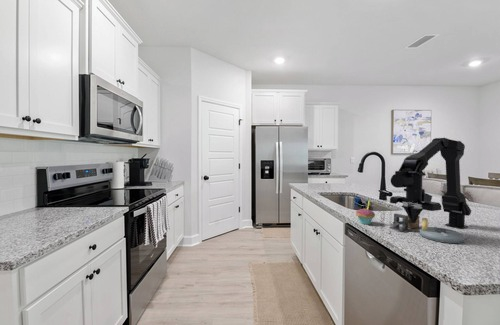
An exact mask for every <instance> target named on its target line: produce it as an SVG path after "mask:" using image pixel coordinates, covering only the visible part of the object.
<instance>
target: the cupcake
mask: <svg viewBox="0 0 500 325" xmlns="http://www.w3.org/2000/svg"><path fill="white" fill-rule="evenodd" d="M370 204H371V199H369V200H368V202H367V208H359V209H357V210H356V211H355V216H356V217H357V218H358V220H359V223H360V224H362V225H366V226H367V225H371V223H372V221H373V219H374V218H375V217H376V213H375V212H374V211H373V210H371V209H369V208H370Z"/></svg>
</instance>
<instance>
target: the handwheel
mask: <svg viewBox="0 0 500 325" xmlns="http://www.w3.org/2000/svg"><path fill="white" fill-rule="evenodd" d="M421 219H422V220H421V221H422V222H421V228H420V227H419V235H420V236H421V237H423V238H426V239H428V240H431V241H436V242H440V243H441V242H442V243H449V244H460V243H464V242H465V241H464V240H465V234H464V233H462V232H460V231H456V230H453V229H450V228H449V229H448V228H445V227H444V228H443V227H438V226H429V225H428V224H429V222H428V219H429V218H427V217H422V218H421Z"/></svg>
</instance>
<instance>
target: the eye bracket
mask: <svg viewBox="0 0 500 325" xmlns="http://www.w3.org/2000/svg"><path fill="white" fill-rule="evenodd" d="M406 215H407V214H401V213H393V222H399V221H400V218H401V219H402V220H401V221H402V224H401V225H402V226H401V225H396V226H394V227H393V226H391V225H390V226H389V229H392V230H395V231H398V232H402V233H409V232H413V228H409V227H408V216H406Z"/></svg>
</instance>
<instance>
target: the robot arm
mask: <svg viewBox="0 0 500 325" xmlns="http://www.w3.org/2000/svg"><path fill="white" fill-rule="evenodd" d="M465 147H466V146H465V144H464V143H463V142H462V141H461V140H454V139H449V138H447V137H435V138H433V139H432V140H431V142H429V143H428V144H427V145H426V146H425V147H423V148H422V149H420V150H419V152H417V153H414V154H409V155H408V156H406V157H405V158H404V159H403V162H402V163H401V165H400V167H399V169H398V170H395V171H394V174H393V175H392V176H391V178H390V183H391V186H393V187H394V188H399V189H400V188H403V191H404V192H405V196H401V195H400V196H399V195H397V196H396V195H395V196H394V195H393V196H391V197H390V198H389V203H390V204H395V205H396V204H398V203H401V204H402V205H401V207H402V208H403V209H404V211H405V213H406V215H408V216H409V218H410V220H411V222H412V223H415V222H416V220H417V218H418V216H419V217H420V214H421V212H422V211H423V210H424V211H430V212H434V211H435V212H436V211H442V209H443V212H444V213H448V223H445V224H444V225H445V226H446V227H447V226H448V227H452V228H456V229H460V230H461V229H467V228H469V226H468V225H466V224H465V223H466V222H465V219H466V217H465V216H471V214H472V209H471V208H470V206H469V205H468V202H467V198H466V197H465V195H464V194H463V192H462V191H461V169H460V168H461V167H460V166H461V165H460V160H461V158H462V157H463V156H464V155H465V149H466V148H465ZM439 152H440V156H441V157H442V158H443V159H444V160H445V178H446V192H445V193H444V195H442V196H441V203H440V202H437V201H436V202H435V201H432V198H433V195H430V194H429V193H426V191H425V189H424V188H423V176H424V177H425V176H426V173H425V172H424V170H425V169H426V168H427V166H428V165H429V161H430V160H431V159H432V158H433V157H435V155H436V154H438V153H439Z"/></svg>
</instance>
